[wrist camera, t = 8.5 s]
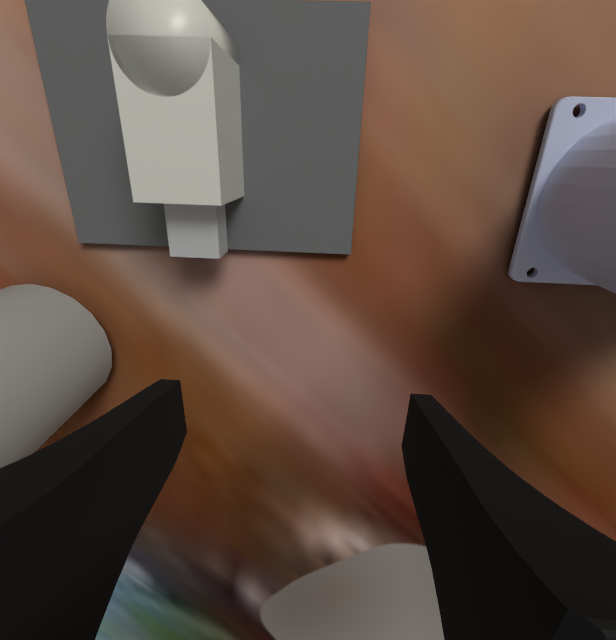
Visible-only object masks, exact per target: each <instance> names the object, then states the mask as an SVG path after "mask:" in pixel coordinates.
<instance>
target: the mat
mask: <svg viewBox="0 0 616 640" xmlns="http://www.w3.org/2000/svg"><path fill="white" fill-rule="evenodd" d="M202 2H203V3H204V4H205V5H206V7H207V8H208V9H209V10H210V12H211V13H212V14H213V15H214V16H215V18H216V19H217V20H218V21H219V23H220V24H221V25H222V26H223V28H224V29H225V30H226V31H227V33H228V34H229V35H230V37H231V39H232V41H233V43H234V45H235V47H236V50H237V54H238V59H239V72H240V98H241V123H242V149H243V175H244V196H243V197H241V198H238V199H236V200H234V201H231V202H229V203H226V204H225V212H226V228H227V245H228V249H236V250H259V251H282V252H305V253H328V254H351V244H352V232H353V219H354V206H355V193H356V181H357V168H358V155H359V143H360V130H361V117H362V105H363V92H364V79H365V66H366V54H367V41H368V28H369V16H370V3H371V2H357V1H293V0H202ZM108 3H109V0H25V4H26V8H27V12H28V17H29V21H30V26H31V30H32V35H33V39H34V44H35V48H36V53H37V57H38V61H39V66H40V70H41V75H42V79H43V84H44V88H45V93H46V97H47V102H48V106H49V110H50V115H51V119H52V124H53V128H54V133H55V137H56V142H57V146H58V151H59V155H60V159H61V164H62V168H63V173H64V177H65V182H66V186H67V191H68V195H69V200H70V204H71V209H72V213H73V217H74V222H75V226H76V231H77V235H78V240H79V243H98V244H121V245H144V246H167V247H169V242H168V234H167V226H166V218H165V210H164V203H139V202H133V197H132V190H131V184H130V178H129V171H128V165H127V159H126V152H125V146H124V139H123V133H122V127H121V120H120V114H119V108H118V101H117V95H116V89H115V82H114V76H113V70H112V63H111V57H110V50H109V44H108V38H107V30H106V14H107V7H108Z"/></svg>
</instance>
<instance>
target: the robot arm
mask: <svg viewBox="0 0 616 640" xmlns="http://www.w3.org/2000/svg"><path fill="white" fill-rule="evenodd" d="M576 105H578V106H579V107H580V113H579V115H578V116H577V117H574V116H573V109H574V107H575V106H576ZM530 268H534V271H533V273H532V274H531V275H528V276H527V271H528V270H529V269H530ZM508 274H509V276H510V277H511V278H512V279H513V280H515V281H518V282H537V283H559V284H581V285H598V286H600V287H602V288H605V289H607V290H609V291H611V292H613V293H615V294H616V98H608V97H565V98H561V99H559V100H558V101H556V102H555V103H554V105H553V106H552V108H551V110H550V113H549V117H548V121H547V125H546V129H545V133H544V136H543V140H542V144H541V148H540V152H539V155H538V159H537V163H536V167H535V171H534V175H533V178H532V182H531V186H530V190H529V194H528V198H527V201H526V205H525V209H524V213H523V217H522V221H521V224H520V228H519V232H518V236H517V240H516V243H515V247H514V251H513V255H512V259H511V263H510V266H509V272H508ZM186 433H187V430H186V422H185V414H184V407H183V399H182V392H181V384H180V380H164V379H161V380H159V381H157V382H155V383H154V384H152V385H150V386H149V387H147V388H145V389H144V390H142V391H141V392H139V393H138V394H136V395H134V396H133V397H131V398H130V399H128V400H127V401H125V402H123V403H122V404H120V405H119V406H117V407H115V408H114V409H112V410H111V411H109V412H108V413H106V414H104V415H103V416H101V417H99V418H98V419H96V420H94V421H92V422H91V423H89V424H87V425H86V426H84V427H82V428H80V429H79V430H77V431H75V432H73V433H72V434H70V435H68V436H66V437H64V438H63V439H61V440H59V441H57V442H55V443H53V444H51V445H49V446H47V447H45V448H43V449H41V450H39V451H37V452H35V453H33V454H31V455H29V456H27V457H25V458H22V459H20V460H18V461H16V462H13V463H11V464H9V465H6V466H4V467H2V468H0V640H95V638H96V635H97V632H98V630H99V627H100V624H101V621H102V619H103V616H104V614H105V611H106V609H107V606H108V604H109V601H110V599H111V596H112V593H113V591H114V588H115V586H116V583H117V581H118V578H119V576H120V574H121V571H122V569H123V566H124V564H125V562H126V559H127V557H128V554H129V552H130V550H131V547H132V545H133V543H134V541H135V539H136V537H137V535H138V533H139V531H140V529H141V527H142V525H143V523H144V521H145V519H146V517H147V515H148V514H149V512H150V510H151V508H152V506H153V504H154V502H155V500H156V499H157V497H158V495H159V493H160V491H161V489H162V487H163V485H164V483H165V482H166V480H167V478H168V476H169V474H170V472H171V470H172V468H173V466H174V464H175V462H176V460H177V457H178V455H179V452H180V450H181V447H182V444H183V441H184V439H185V436H186ZM402 451H403V458H404V464H405V470H406V476H407V480H408V484H409V488H410V491H411V495H412V498H413V502H414V506H415V509H416V513H417V516H418V519H419V523H420V526H421V530H422V533H423V537H424V540H425V544H426V547H427V551H428V555H429V559H430V563H431V567H432V572H433V578H434V583H435V588H436V594H437V599H438V604H439V610H440V615H441V621H442V627H443V633H444V639H445V640H616V541H614V540H612V539H611V538H609V537H607V536H606V535H604V534H602V533H601V532H599V531H597V530H596V529H594V528H592V527H591V526H589V525H588V524H586V523H585V522H583V521H581V520H580V519H578V518H577V517H575V516H574V515H572V514H571V513H569V512H568V511H566V510H565V509H563V508H562V507H560V506H559V505H557V504H556V503H554V502H553V501H551V500H550V499H549V498H547V497H546V496H544V495H543V494H542V493H540V492H539V491H538V490H536V489H535V488H534V487H532V486H531V485H530V484H528V483H527V482H526V481H524V480H523V479H522V478H520V477H519V476H518V475H516V474H515V473H514V472H513V471H511V470H510V469H509V468H508V467H507V466H505V465H504V464H503V463H502V462H501V461H500V460H498V459H497V458H496V457H495V456H494V455H493V454H491V453H490V452H489V451H488V450H487V449H486V448H485V447H484V446H482V445H481V444H480V443H479V442H478V441H477V440H476V439H475V438H474V437H473V436H472V435H471V434H470V433H469V432H468V431H467V430H465V429H464V428H463V427H462V426H461V425H460V424H459V423H458V422H457V421H456V420H455V419H454V418H453V417H452V416H451V415H450V414H449V413H448V412H447V410H446V409H445V408H444V407H443V406H442V405H441V404H440V403H439V402H438V401H437V400H436V399H435V398H434V397H433V396H431V395H422V394H411V396H410V401H409V407H408V413H407V419H406V424H405V430H404V436H403V442H402Z"/></svg>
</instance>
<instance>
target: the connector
mask: <svg viewBox="0 0 616 640" xmlns="http://www.w3.org/2000/svg"><path fill="white" fill-rule="evenodd" d="M106 30H107V38H108V44H109V50H110V57H111V63H112V70H113V76H114V82H115V89H116V95H117V101H118V108H119V114H120V120H121V127H122V133H123V139H124V146H125V152H126V159H127V165H128V171H129V178H130V184H131V190H132V197H133V202H139V203H164V210H165V218H166V226H167V234H168V242H169V250H170V257H192V258H215V259H220V258H221V257H222V256H223V255H224V254H225V253H227V252H228V245H227V228H226V212H225V204H226V203H229V202H231V201H234V200H236V199H238V198H241V197H243V196H244V175H243V149H242V123H241V98H240V72H239V59H238V54H237V50H236V47H235V45H234V43H233V41H232V39H231V37H230V35H229V34H228V33H227V31H226V30H225V29H224V28H223V26H222V25H221V24H220V23H219V21H218V20H217V19H216V18H215V16H214V15H213V14H212V13H211V12H210V10H209V9H208V8H207V7H206V5H205V4H204V3H203V2H202V0H109V3H108V7H107V14H106Z"/></svg>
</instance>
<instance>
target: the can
mask: <svg viewBox="0 0 616 640" xmlns="http://www.w3.org/2000/svg"><path fill="white" fill-rule="evenodd" d="M111 368H112V351H111V347H110V344H109V342H108V339H107V336H106V334H105V331H104V330H103V328H102V327H101V326H100V324H99V323H98V322H97V320H96V319H95V318H94V316H93V315H92V313H90V312H89V311H88V310H87V309H86V308H84V307H83V306H82V305H81V304H79V303H78V302H77V301H76V300H75V299H73V298H71V297H69V296H67V295H65V294H63V293H61V292H59V291H57V290H55V289H53V288H49V287H44V286H39V285H34V284H23V285H14V286H9V287H6V288H4V289H1V290H0V468H2V467H4V466H6V465H9V464H11V463H13V462H16V461H18V460H20V459H22V458H25V457H27V456H29V455H31V454H33V453H34V452H35V451H36V450H37V449H38V448H39V447H40V446H41V445H42V444H43V443H44V442H45V441H46V440H47V439H48V438H49V437H50V436H51V435H52V434H54V433H55V432H56V431H57V430H58V429H59V428H60V427H61V426H62V425H63V424H64V423H65V422H66V421H67V420H68V419H69V418H70V417H71V416H72V415H73V414H74V413H75V412H76V411H77V410H78V409H79V408H80V407H81V406H82V405H83V404H84V403H85V402H86V401H87V400H88V399H89V398H90V397H91V396H92V395H93V394H94V393H95V392H96V391H97V390H98V389H99V388H100V387H101V386H102V385H103V384H104V383H105V382H106V381H107V378H108V376H109V373H110V371H111Z"/></svg>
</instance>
